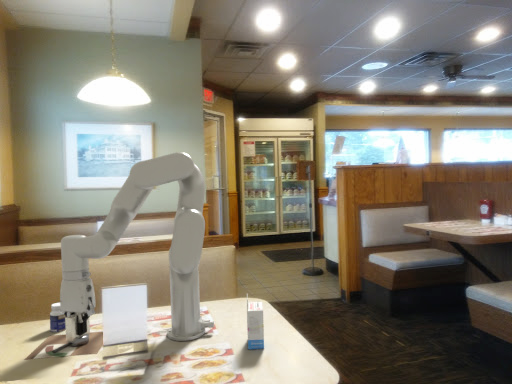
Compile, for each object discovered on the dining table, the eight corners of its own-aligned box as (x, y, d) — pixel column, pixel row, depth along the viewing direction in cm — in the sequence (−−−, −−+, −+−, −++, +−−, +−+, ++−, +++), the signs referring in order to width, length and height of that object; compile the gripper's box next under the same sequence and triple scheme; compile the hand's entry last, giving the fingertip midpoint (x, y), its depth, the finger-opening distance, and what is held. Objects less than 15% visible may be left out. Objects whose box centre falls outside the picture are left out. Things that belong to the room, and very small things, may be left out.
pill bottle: (61, 336, 124) (59, 307, 124) (46, 335, 125) (45, 306, 125) (72, 329, 130) (71, 301, 130) (58, 328, 131) (57, 301, 131)
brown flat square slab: (112, 334, 125) (112, 330, 125) (96, 358, 107) (96, 353, 107) (50, 339, 122) (49, 334, 122) (23, 364, 105) (23, 359, 105)
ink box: (264, 349, 110) (263, 300, 109) (248, 350, 110) (246, 300, 109) (263, 337, 118) (261, 291, 118) (247, 338, 118) (246, 292, 118)
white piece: (80, 336, 119) (78, 309, 119) (94, 339, 117) (93, 311, 117) (46, 354, 108) (44, 323, 108) (61, 356, 106) (60, 325, 105)
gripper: (105, 273, 116) (107, 331, 116) (65, 271, 121) (67, 326, 121) (87, 279, 109) (90, 341, 109) (45, 276, 114) (48, 335, 114)
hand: (78, 332), depth 115 cm, fingers closed on white piece, 2 cm apart
